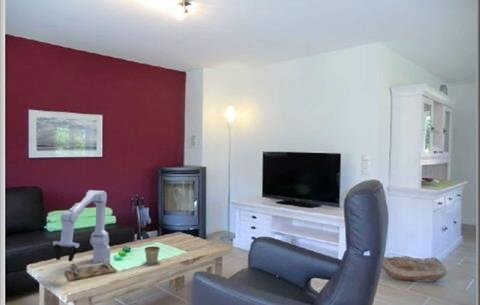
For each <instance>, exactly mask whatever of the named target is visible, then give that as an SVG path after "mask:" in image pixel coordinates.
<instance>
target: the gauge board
mask: <svg viewBox="0 0 480 305" xmlns="http://www.w3.org/2000/svg"><path fill="white" fill-rule="evenodd" d="M115 273H117V270H116V268H114V266H113V265H112V264H111V263H110V268H108V267H107V266H103V265H102V263H101V264H96V265H91V266H90V265H89V266H86V267H85V266H84V267H79V265H78V264H77V263H70V269H67V270H65V271H64V274H65V277H66V278H67V280H68V281H69V282H75V281H80V280H85V279H89V278H90V279H92V278H96V277H99V276H100V277H101V276H104V275H105V276H106V275H109V274H110V275H111V274H115Z"/></svg>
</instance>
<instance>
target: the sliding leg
mask: <svg viewBox="0 0 480 305" xmlns="http://www.w3.org/2000/svg"><path fill="white" fill-rule="evenodd" d="M110 261H111V259H110V260H109V259H108V258H105V259H102V262H101V264H102V265H103V266H107V267H108V268H110V264H111V263H110Z"/></svg>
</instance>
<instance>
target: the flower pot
mask: <svg viewBox="0 0 480 305" xmlns="http://www.w3.org/2000/svg"><path fill="white" fill-rule="evenodd" d="M143 250H144V253H145V258H146V263H147V264H148V265H153V264H157V263H158V259H159V258H158V257H159V252H160V250H161V247H159V246H146V247H144V249H143Z"/></svg>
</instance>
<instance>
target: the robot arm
mask: <svg viewBox="0 0 480 305" xmlns="http://www.w3.org/2000/svg"><path fill="white" fill-rule="evenodd" d="M107 198H108V196H107V192H106V191H105V190H93V189H89V190H88V191H87V192H86V194H85V196H84V197H83V198H82V200H81V201H80V202H76V203H74V205H73V206H72V207H71V208H69V209H68V210H67V211H66V210H65V211H64V212H62V214H61V216H60V221H61V235H60V241H58V240H56V241H55V240H54V241H53V242H52V249H53V251H54V254H55V260H56V261H58V260H61V256H62V251H63V248H64V247H67V249H68V262H72V261H73V260H74V257H75V255H76V253H77V251H78V250H79V247H80V243H77V242H74V241H73V238H74V231H75V229H74V228H75V223H76V222H77V221H78V218H79V216H80V215H81V214H82V213H83V212H84V210H85V207H86V206H88V205H89V204H90V203H93V204H95V226H94V231H93V232H92V233H91V236H90V240H89V244H90V245H91V246H92V247H93V248H92V249H93V251H92V252H93V254H92V256H93V257H92V258H91V261H92V262H93V264H97V263H98V264H99V263H102V259H105V258H108V259H109V260H110V261H111V247H110V244H109V243H110V237H109V232H107V231H106V230H105V224H106V223H105V220H106V204H107V201H108V200H107Z"/></svg>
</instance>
